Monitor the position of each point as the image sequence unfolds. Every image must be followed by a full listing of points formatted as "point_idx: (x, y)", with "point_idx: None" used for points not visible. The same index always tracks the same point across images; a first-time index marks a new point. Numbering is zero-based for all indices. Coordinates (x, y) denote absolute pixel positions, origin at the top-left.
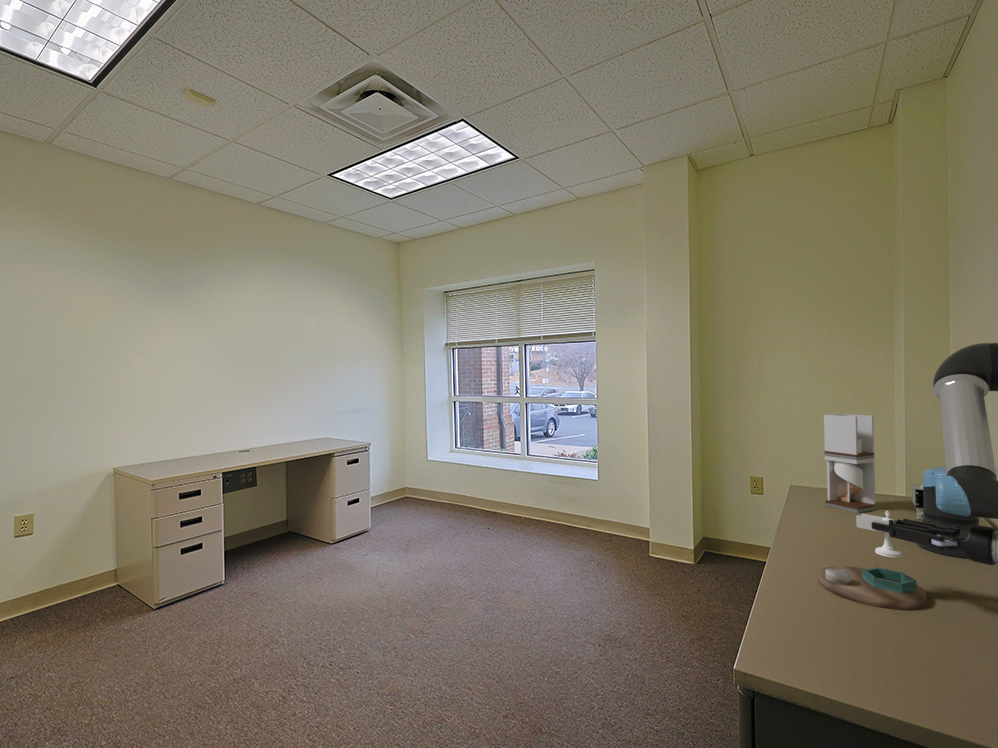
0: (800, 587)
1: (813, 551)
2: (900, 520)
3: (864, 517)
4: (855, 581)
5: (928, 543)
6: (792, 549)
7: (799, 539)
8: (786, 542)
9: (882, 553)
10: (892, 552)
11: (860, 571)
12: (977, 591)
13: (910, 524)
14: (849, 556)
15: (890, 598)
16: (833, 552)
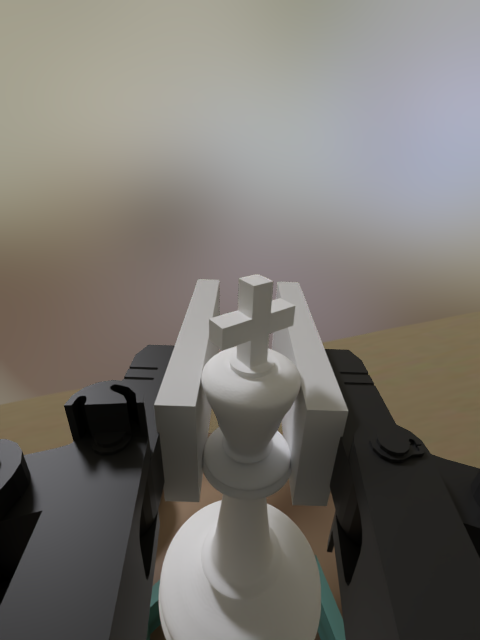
0: (50, 446)
1: (379, 380)
2: (383, 452)
3: (192, 299)
4: (158, 541)
5: None
6: None
7: (423, 344)
8: (370, 339)
9: (167, 558)
10: (188, 613)
11: (298, 513)
12: None
13: (387, 616)
14: (459, 439)
15: None
16: (434, 406)
